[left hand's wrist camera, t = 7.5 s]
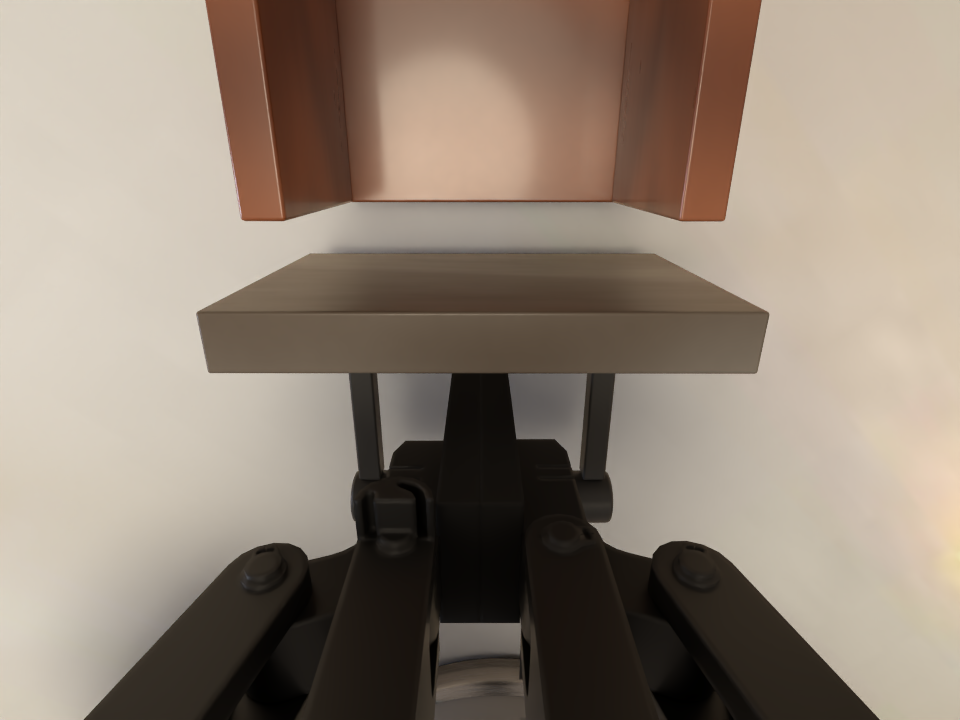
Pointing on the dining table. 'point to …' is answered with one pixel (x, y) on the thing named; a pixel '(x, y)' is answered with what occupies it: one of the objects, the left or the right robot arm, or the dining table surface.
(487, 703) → the left robot arm
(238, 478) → the dining table surface
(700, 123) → the drawer
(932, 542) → the dining table surface
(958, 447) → the dining table surface
